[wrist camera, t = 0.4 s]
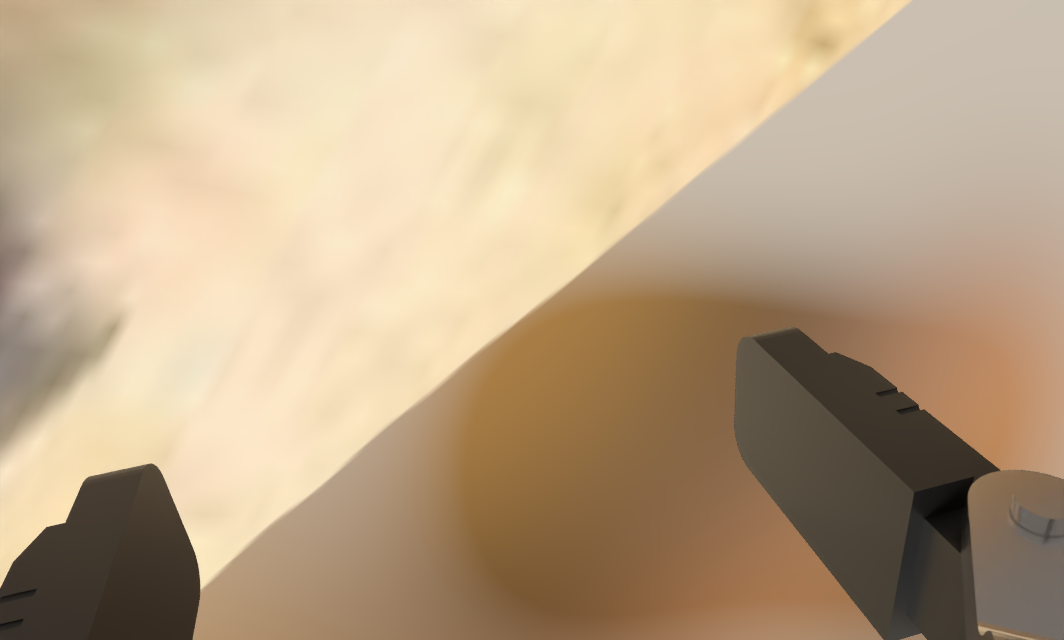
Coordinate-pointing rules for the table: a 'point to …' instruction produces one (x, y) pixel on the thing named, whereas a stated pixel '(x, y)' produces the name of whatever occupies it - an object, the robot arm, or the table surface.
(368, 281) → the table surface
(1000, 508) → the robot arm
